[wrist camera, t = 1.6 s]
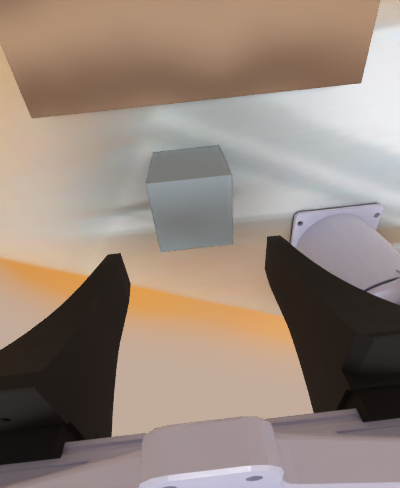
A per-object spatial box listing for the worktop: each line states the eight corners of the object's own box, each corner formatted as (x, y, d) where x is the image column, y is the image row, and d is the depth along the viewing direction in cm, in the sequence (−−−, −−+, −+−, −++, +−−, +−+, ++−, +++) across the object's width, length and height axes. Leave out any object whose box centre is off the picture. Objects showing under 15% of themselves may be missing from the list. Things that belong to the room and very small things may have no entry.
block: (221, 203, 23) (233, 244, 18) (164, 210, 23) (160, 252, 18) (218, 145, 20) (231, 174, 15) (153, 152, 20) (145, 183, 15)
